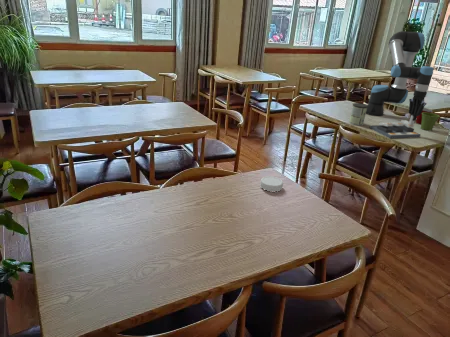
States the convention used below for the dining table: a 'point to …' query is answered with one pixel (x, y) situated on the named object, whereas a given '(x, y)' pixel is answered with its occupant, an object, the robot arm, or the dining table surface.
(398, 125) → the switch middle
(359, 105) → the coffee can
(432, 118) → the plant pot
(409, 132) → the switch panel
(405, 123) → the switch
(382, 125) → the switch
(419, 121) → the plastic cup
